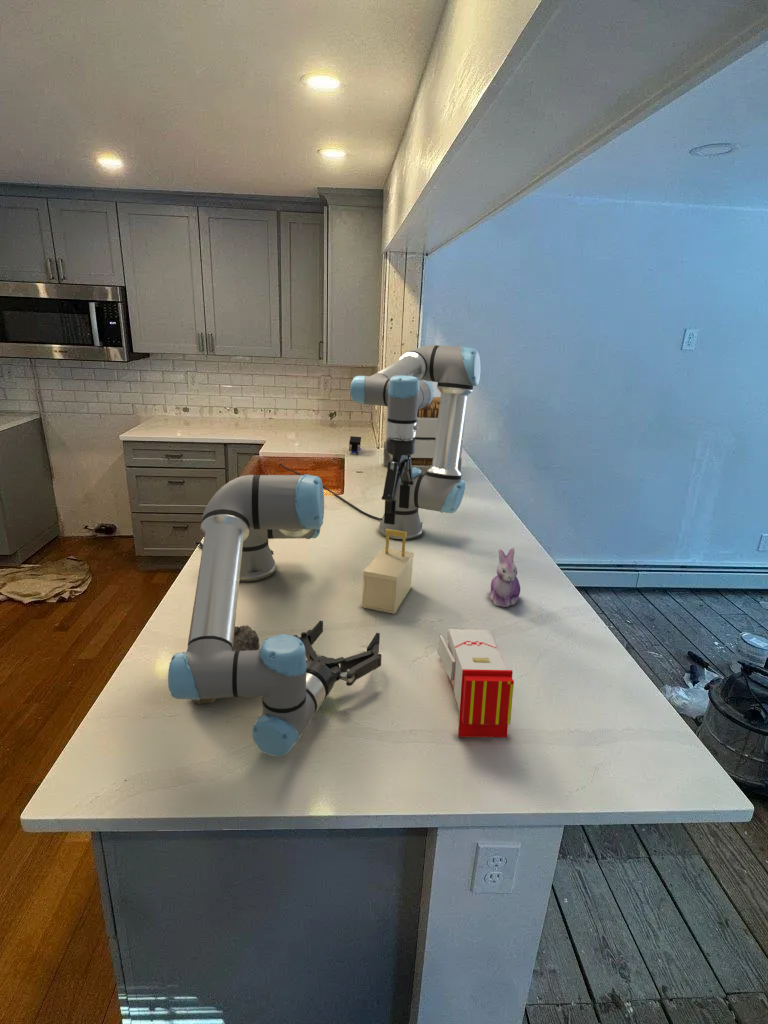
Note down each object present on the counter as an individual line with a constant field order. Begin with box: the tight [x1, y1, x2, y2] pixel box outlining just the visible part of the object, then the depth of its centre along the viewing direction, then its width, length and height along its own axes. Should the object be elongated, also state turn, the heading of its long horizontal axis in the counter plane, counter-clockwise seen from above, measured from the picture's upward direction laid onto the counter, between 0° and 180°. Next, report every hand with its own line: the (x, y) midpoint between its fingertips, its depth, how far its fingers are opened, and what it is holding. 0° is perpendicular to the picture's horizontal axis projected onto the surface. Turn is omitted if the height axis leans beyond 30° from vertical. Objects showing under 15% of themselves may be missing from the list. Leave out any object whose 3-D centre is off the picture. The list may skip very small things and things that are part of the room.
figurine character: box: [348, 435, 362, 455], centre depth 308 cm, size 7×8×15 cm
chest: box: [361, 557, 414, 615], centre depth 154 cm, size 16×9×9 cm, turn 162°
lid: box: [363, 529, 415, 581], centre depth 152 cm, size 17×9×8 cm, turn 162°
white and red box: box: [437, 628, 515, 738], centre depth 117 cm, size 12×13×30 cm
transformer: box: [383, 396, 465, 474], centre depth 268 cm, size 34×33×41 cm
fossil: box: [192, 624, 260, 705], centre depth 119 cm, size 22×10×15 cm
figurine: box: [489, 547, 521, 608], centre depth 154 cm, size 9×10×15 cm
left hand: (349, 631), depth 127 cm, fingers open, 13 cm apart
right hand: (396, 515), depth 153 cm, fingers open, 13 cm apart
